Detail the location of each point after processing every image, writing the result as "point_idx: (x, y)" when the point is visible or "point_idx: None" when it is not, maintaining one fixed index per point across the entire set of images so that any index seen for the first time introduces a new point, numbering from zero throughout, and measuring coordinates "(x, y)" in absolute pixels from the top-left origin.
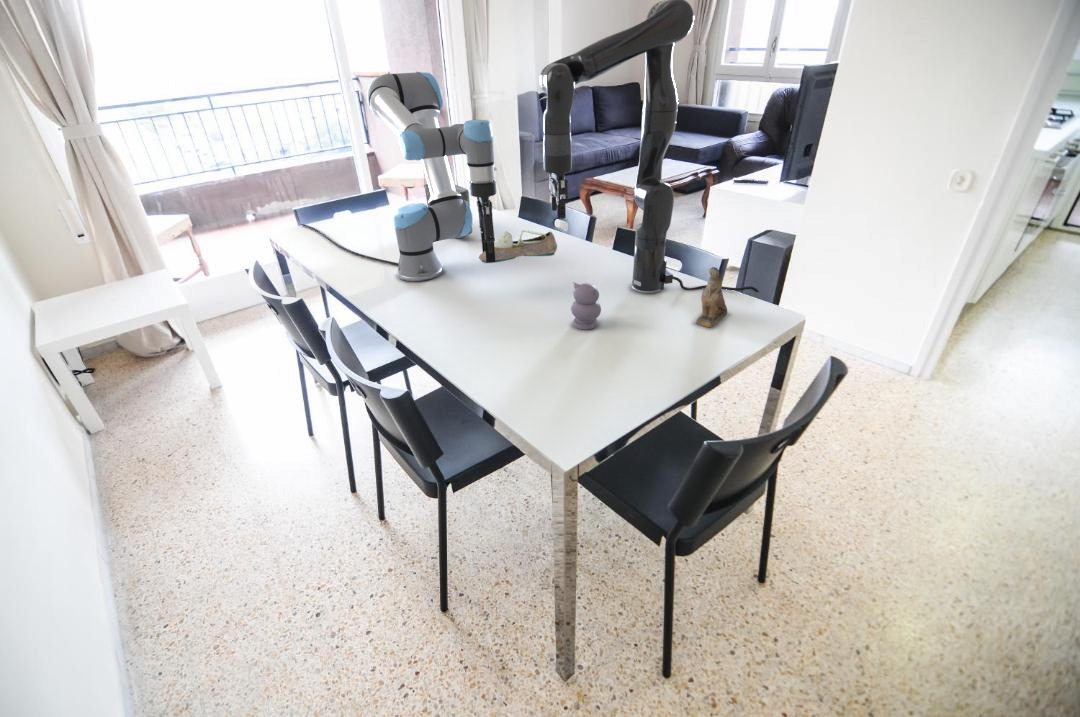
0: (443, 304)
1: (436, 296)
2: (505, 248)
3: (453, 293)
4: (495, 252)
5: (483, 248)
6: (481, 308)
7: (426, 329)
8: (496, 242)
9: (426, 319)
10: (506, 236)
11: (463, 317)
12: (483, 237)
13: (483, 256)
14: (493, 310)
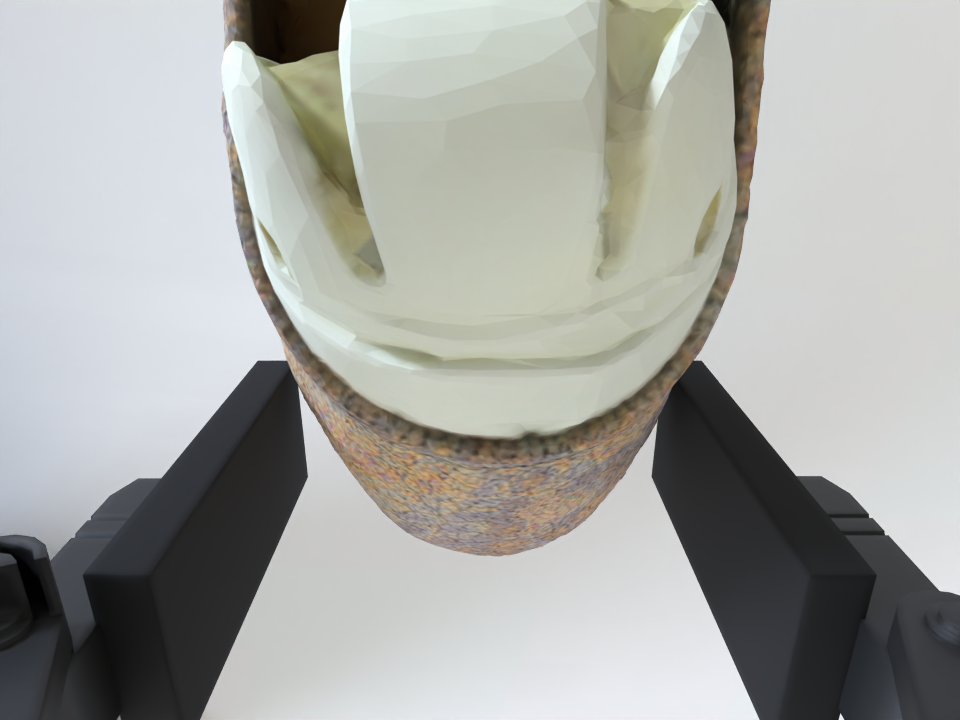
0: (550, 604)
1: (406, 634)
2: (737, 219)
3: (385, 537)
4: (667, 395)
5: (283, 511)
6: None
7: None
8: (530, 406)
9: (728, 694)
10: (670, 188)
11: None
12: (215, 635)
13: (561, 526)
14: (795, 309)
